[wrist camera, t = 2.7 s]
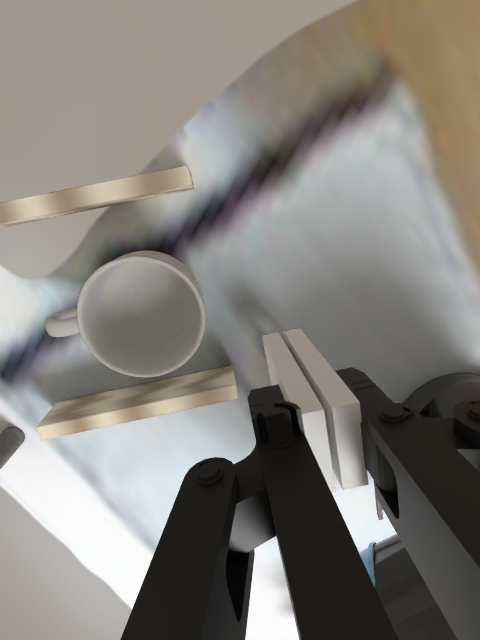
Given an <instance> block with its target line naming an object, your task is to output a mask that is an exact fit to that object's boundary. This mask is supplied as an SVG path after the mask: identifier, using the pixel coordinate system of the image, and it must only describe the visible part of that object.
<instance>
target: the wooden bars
mask: <svg viewBox="0 0 480 640" xmlns="http://www.w3.org/2000/svg"><path fill="white" fill-rule="evenodd" d="M191 189H194V186H193V181H192V177H191V172H190V170H189V168H188V166H182V167H177V168H172V169H167V170H162V171H157V172H152V173H147V174H142V175H137V176H132V177H127V178H122V179H117V180H112V181H106V182H102V183H97V184H92V185H86V186H81V187H77V188H72V189H66V190H61V191H56V192H52V193H46V194H41V195H36V196H31V197H26V198H21V199H16V200H11V201H7V202H1V203H0V228H2V227H7V226H12V225H17V224H22V223H26V222H32V221H37V220H42V219H47V218H51V217H56V216H61V215H67V214H72V213H76V212H82V211H87V210H92V209H96V208H101V207H106V206H111V205H116V204H121V203H126V202H131V201H136V200H141V199H146V198H151V197H156V196H161V195H166V194H171V193H176V192H181V191H186V190H191ZM233 399H238V393H237V386H236V379H235V374H234V370H233V365H230V366H225V367H221V368H216V369H211V370H207V371H202V372H197V373H192V374H188V375H183V376H178V377H173V378H169V379H164V380H159V381H155V382H150V383H145V384H140V385H136V386H131V387H126V388H122V389H117V390H112V391H107V392H103V393H98V394H93V395H89V396H84V397H79V398H74V399H70V400H65V401H60V402H57V403H56V404H55V405H54V406H53V408H52V409H51V410H50V411H49V412H48V414H47V415H46V416H45V417H44V419H43V420H42V421H41V422H40V423H39V425H38V426H37V427H36V429H37V432H38V434H39V436H40V439H41V441H42V440H46V439H51V438H56V437H60V436H65V435H70V434H74V433H79V432H84V431H88V430H93V429H98V428H102V427H107V426H112V425H116V424H121V423H126V422H130V421H135V420H140V419H144V418H149V417H154V416H158V415H163V414H168V413H172V412H177V411H182V410H186V409H191V408H196V407H200V406H205V405H210V404H214V403H219V402H224V401H228V400H233ZM24 439H25V435H24V433H23V431H22V430H20V429H19V428H16V427H9V428H7V429H5V430H4V431H3V432H2V433H1V434H0V469H1V468H2V467H3V466H4V464H5V463H6V462H7V461H8V460H9V458H10V457H11V456H12V455H13V454H14V452H15V451H16V450H17V449H18V448H19V446H20V445H21V444H22V443H23V441H24Z"/></svg>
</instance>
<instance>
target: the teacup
mask: <svg viewBox="0 0 480 640" xmlns="http://www.w3.org/2000/svg"><path fill="white" fill-rule="evenodd" d="M205 324H206V316H205V307H204V302H203V296H202V292H201V289H200V286H199V284H198V282H197V280H196V278H195V277H194V275H193V274H192V272H191V271H190V270H189V269H188V268H187V267H186V266H185V265H184V264H183V263H181V262H180V261H178V260H177V259H175V258H173V257H171V256H169V255H167V254H164V253H160V252H155V251H136V252H132V253H128V254H125V255H123V256H120V257H118V258H116V259H115V260H112V261H110V262H108V263H106V264H104V265H103V266H101V267H99V268H98V269H97V270H96V271H95V272H94V273H93V274H92V275H91V276H90V277H89V278H88V279H87V280H86V282H85V283H84V285H83V287H82V289H81V291H80V293H79V296H78V301H77V308H73V309H69V310H65V311H61V312H58V313H55V314H52V315H51V316H49V317H47V319H46V320H45V328H46V330H47V332H48V334H49V335H51V336H53V337H63V336H69V335H74V334H77V333H80V335H81V337H82V339H83V341H84V343H85V344H86V346H87V347H88V349H89V350H90V352H91V353H92V354H93V356H94V357H96V358H97V359H98V360H99V361H100V362H101V363H103V364H104V365H105V366H107V367H108V368H110V369H112V370H114V371H116V372H119V373H122V374H125V375H129V376H135V377H155V376H160V375H164V374H167V373H169V372H172V371H174V370H176V369H177V368H179V367H180V366H182V365H183V364H185V363H186V362H187V361H188V360H189V359H190V358H191V357H192V356H193V355H194V353H195V352H196V351H197V349H198V347H199V345H200V343H201V341H202V339H203V334H204V331H205Z"/></svg>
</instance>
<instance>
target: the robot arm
mask: <svg viewBox="0 0 480 640" xmlns="http://www.w3.org/2000/svg"><path fill="white" fill-rule="evenodd" d="M283 332H284V338H285V342H284V341H283V339H282V337H281V335H280V334H279V332H277V333H273V334H268V335H263V336H262V339H263V345H264V350H265V355H266V361H267V366H268V371H269V377H270V382H271V386H268V387H263V388H259V389H254V390H252V391H251V393H250V394H249V396H248V402H249V407H250V412H251V417H252V423H253V428H254V433H255V437H256V446H255V448H254V450H253V451H252V453H251V454H250V455H249V456H247V457H246V458H245V459H243V460H241V461H240V462H238V463H235V464H232V462H231V461H229V460H227V459H225V458H218V457H214V458H209V459H205V460H203V461H201V462H199V463H196V464H195V465H194V466H193V467H192V468H190V469H189V471H188V472H187V474H186V475H185V477H184V480H183V482H182V485H181V487H180V490H179V492H178V495H177V497H176V500H175V502H174V505H173V508H172V510H171V513H170V515H169V518H168V520H167V523H166V525H165V528H164V530H163V533H162V535H161V538H160V541H159V543H158V546H157V548H156V551H155V553H154V556H153V558H152V561H151V563H150V566H149V569H148V571H147V574H146V576H145V579H144V581H143V584H142V586H141V589H140V591H139V594H138V596H137V599H136V602H135V604H134V607H133V609H132V612H131V614H130V617H129V619H128V622H127V625H126V627H125V629H124V632H123V635H122V638H121V640H245V636H246V627H247V618H248V609H249V599H250V590H251V581H252V572H253V563H254V548H256V547H258V546H259V545H261V544H263V543H264V542H266V541H268V540H270V539H271V538H273V537H275V536H277V541H278V545H279V550H280V554H281V559H282V563H283V568H284V572H285V577H286V581H287V586H288V590H289V595H290V599H291V603H292V608H293V612H294V617H295V621H296V626H297V630H298V635H299V639H300V640H480V376H479V375H475V374H469V373H457V374H450V375H446V376H442V377H439V378H437V379H435V380H432V381H430V382H429V383H427V384H425V385H424V386H422V387H421V388H419V389H418V390H417V391H415V392H414V393H413V394H412V395H411V396H410V397H409V398H408V399H407V401H406V402H405V403H404V404H399V403H393V402H392V401H391V400H390V399H389V398H388V397H387V396H386V395H385V394H384V393H383V392H382V391H381V390H380V389H379V388H378V387H377V386H376V385H375V384H374V383H373V382H372V381H371V380H370V378H369V377H368V376H367V375H366V374H365V373H364V372H362V371H359V370H357V369H354V368H347V369H343V370H338V371H334V369H333V368H332V367H331V366H330V364H329V363H328V362H327V361H326V359H325V358H324V357H323V356H322V354H321V353H320V352H319V351H318V349H317V348H316V347H315V346H314V344H313V343H312V342H311V341H310V340H309V338H308V337H307V336H306V335H305V333H304V332H303V331H302V330H301V328H296V329H292V330H287V331H283ZM332 469H333V470H332ZM367 470H368V471H369V473H370V475H371V476H372V478H373V479H374V487H375V497H376V507H377V514H378V518H379V520H382V519H383V513H382V509H383V510H384V511H385V513H386V515H387V517H388V518H389V520H390V522H391V524H392V525H393V527H394V529H395V531H396V532H397V534H396V535H394V536H391V537H389V538H387V539H385V540H383V541H381V542H379V543H377V544H376V543H375V542H372V543H370V544H369V547H368V548H366V549H365V550H363V551H361V552H360V553H359V552H358V550H357V548H356V545H355V543H354V541H353V539H352V537H351V535H350V532H349V530H348V528H347V526H346V524H345V521H344V519H343V517H342V515H341V513H340V511H339V508H338V506H337V504H336V502H335V500H334V497H333V495H332V492H336V491H335V484H334V477H333V471H334V473H335V475H336V477H337V479H338V481H339V483H340V485H341V487H342V489H343V490H345V489H350V488H354V487H359V486H364V485H368V476H367Z"/></svg>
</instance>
